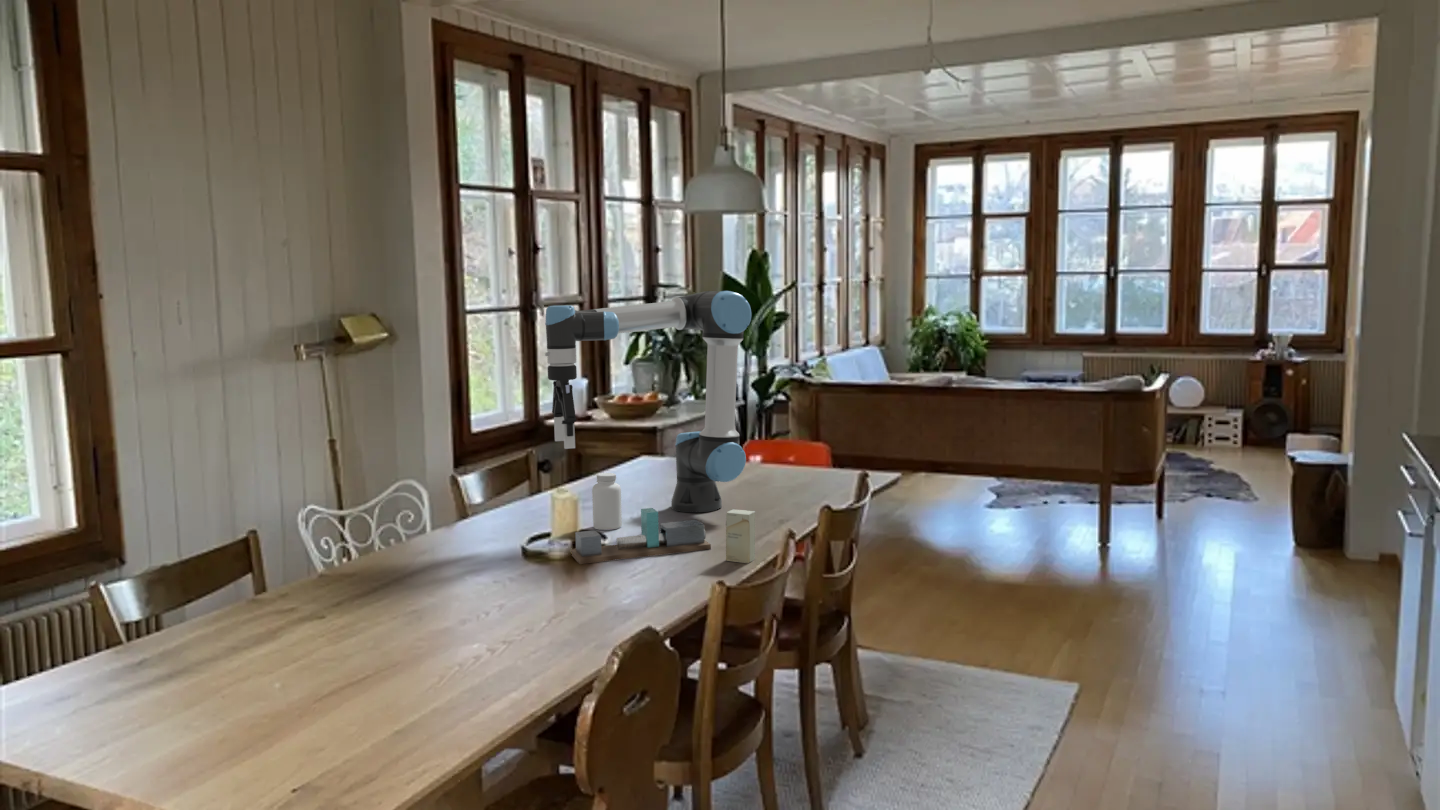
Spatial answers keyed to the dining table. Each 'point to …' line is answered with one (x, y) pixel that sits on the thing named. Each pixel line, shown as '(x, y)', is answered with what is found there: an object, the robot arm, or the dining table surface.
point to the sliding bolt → (646, 532)
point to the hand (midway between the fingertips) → (564, 444)
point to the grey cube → (588, 543)
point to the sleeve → (683, 532)
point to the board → (636, 552)
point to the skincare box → (740, 536)
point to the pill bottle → (606, 502)
